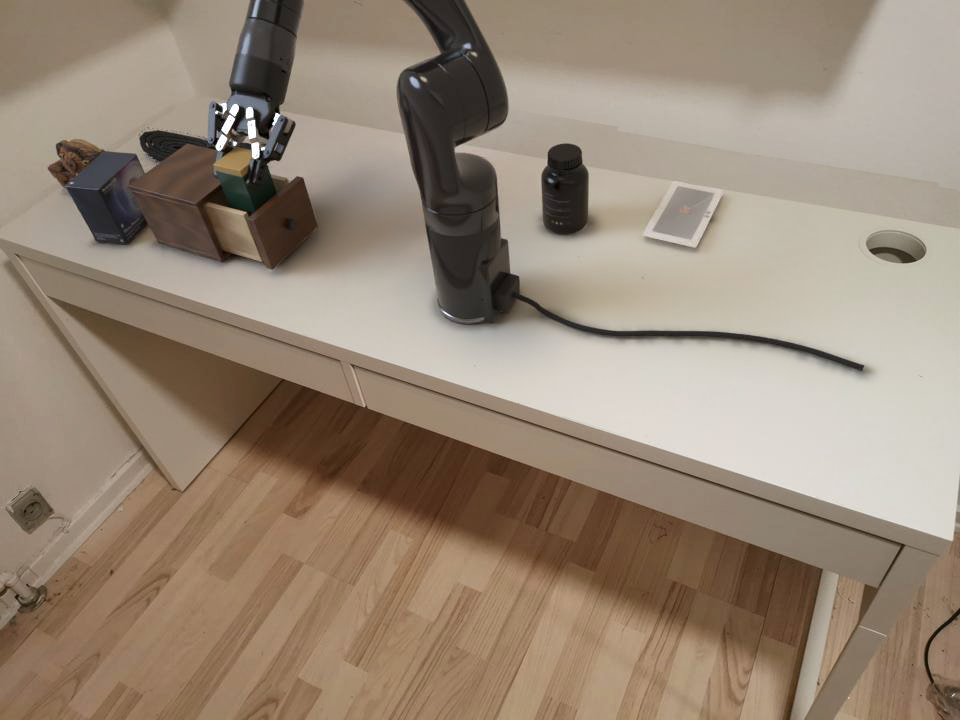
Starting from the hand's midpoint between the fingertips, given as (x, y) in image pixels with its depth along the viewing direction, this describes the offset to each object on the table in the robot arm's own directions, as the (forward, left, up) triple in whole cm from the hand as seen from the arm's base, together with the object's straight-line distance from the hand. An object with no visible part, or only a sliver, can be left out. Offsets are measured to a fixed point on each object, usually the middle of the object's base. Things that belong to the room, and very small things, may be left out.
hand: (236, 183), depth 99 cm
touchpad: (-56, -30, -12) cm, 65 cm away
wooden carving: (+39, -2, -12) cm, 41 cm away
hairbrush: (+29, -20, -12) cm, 38 cm away
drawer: (0, -2, -11) cm, 11 cm away
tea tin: (0, -2, -4) cm, 4 cm away
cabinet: (+11, -2, -12) cm, 17 cm away
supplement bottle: (-40, -23, -12) cm, 48 cm away
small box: (+26, +2, -12) cm, 29 cm away
